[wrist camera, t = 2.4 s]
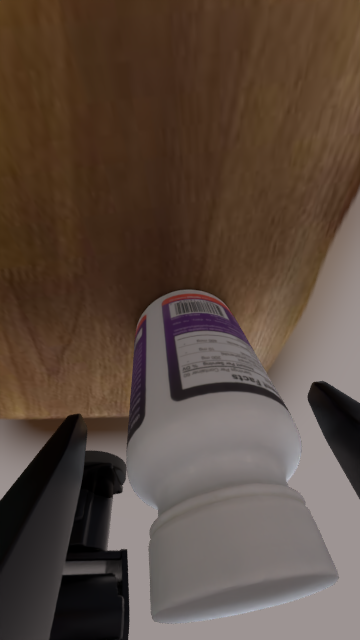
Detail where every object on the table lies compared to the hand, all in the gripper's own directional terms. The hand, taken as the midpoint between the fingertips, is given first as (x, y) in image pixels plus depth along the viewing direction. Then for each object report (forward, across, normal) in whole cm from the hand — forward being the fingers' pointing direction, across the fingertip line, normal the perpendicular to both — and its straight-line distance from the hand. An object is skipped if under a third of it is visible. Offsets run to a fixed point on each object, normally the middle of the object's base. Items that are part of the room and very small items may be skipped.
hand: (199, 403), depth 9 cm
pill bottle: (+5, 0, 0) cm, 5 cm away
